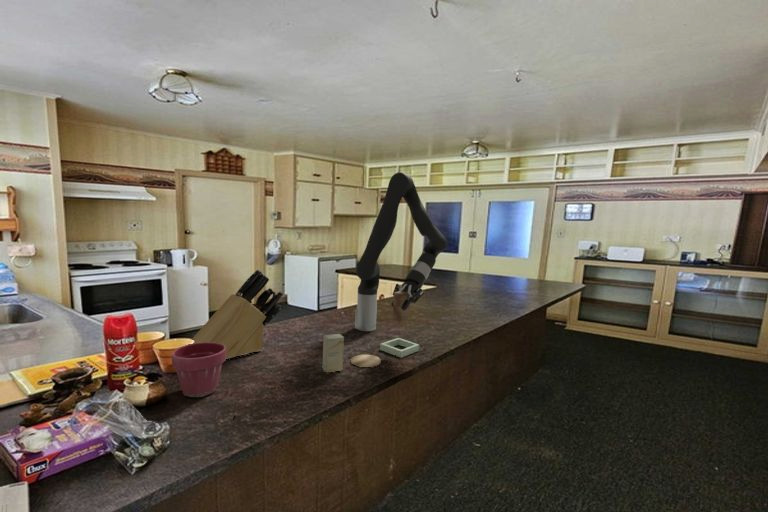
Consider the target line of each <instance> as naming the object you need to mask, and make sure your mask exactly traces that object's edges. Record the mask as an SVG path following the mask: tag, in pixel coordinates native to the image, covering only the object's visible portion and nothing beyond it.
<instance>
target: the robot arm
mask: <svg viewBox="0 0 768 512" xmlns="http://www.w3.org/2000/svg"><path fill="white" fill-rule="evenodd" d="M402 199H403V200H404V201H405V203H406V205H407V206H408V209H409V211H410V215H411V218H412V221H413V223H414V225H415V226H416V228H417V230H418V232H419V234H420V235H421V237H427V239H428V240H429V241H428V242H427V243H426V244H425V246H424V248H423V249H422V252H421V254H420V256H419V257H418V259H417V260H416V262H415V263H414V265H413V266H412V267H411V269H410V270H409V272H408V273H407V275H406V277H405V280H404V282H403V283H402V284H398V283H396V284H395V286H394V289H393V292H392V296H393V295H394V292H398V291H404V292H408V296H407V299H406V300H405V302H404V303H403V305H402V306H401V309H402V310H404V311H405V310H406V309H407V307H408V306H409V307H410V304H412V303H413V304H416V303H417V302H418V301H419V300H420V298H422V297H423V295H425V292H424V290H423V289H422V287H424V284H425V283H426V280H427V279H428V277H429V275H430V274H431V271H432V270H433V267H434V266H435V264H436V261H437V257H438V256H439V255H440V254H441V253H442V252H444V251H445V250H446V249H447V246H448V241H447V239H446V237H445V235H443V234H442V232H441V231H440V230H439V229H438V228H437V227H436V226H435V224H434V223H433V221H432V219H431V217H430V215H429V213H428V212H427V210H426V207H425V206H424V204H423V203H422V201H421V198H420V196H419V193H418V191H417V188H416V184H415V181H414V180H413V178H412V177H411V176H410V175H408V174H406V173H404V172H401V171H400V172H396V173H394V174H393V175H392V176H391V177H390V179H389V181H388V185H387V190H386V193H385V196H384V199H383V202H382V205H381V207H380V208H379V212H378V215H377V217H376V219H375V222H374V225H373V228H372V230H371V232H370V236H369V238H368V240H367V243H366V247H365V248H364V251H363V253H362V256H361V257H360V258H359V261H358V263H357V264H356V270H355V273H356V276H357V277H358V279H359V280H360V282H359V285H358V286H357V303H356V305H357V306H356V308H355V311H354V315H355V316H354V329H355V330H358V331H361V332H373V331H376V330H377V329H376V328H377V308H378V307H377V306H378V288H379V284H380V275H381V273H380V272H381V271H380V270H381V267H380V265H379V262H378V260H379V258H380V256H381V254H382V251H383V250H384V249H385V247H386V246H387V245H388V243H389V241H390V239H391V238H392V236H393V233H394V231H395V228H396V225H397V220H398V211H399V207H400V204H401V202H402ZM391 307H392V308H393V301H391Z"/></svg>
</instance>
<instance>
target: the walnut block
mask: <svg viewBox="0 0 768 512" xmlns="http://www.w3.org/2000/svg"><path fill="white" fill-rule="evenodd" d="M393 292H394V291H393ZM392 296H393V299H392V300H393V301H392V302H393V307H392V321H397V322H401V323H403V322H406V321H409V319H410V317H409V315H410V305H409V306H408V307H407V309H406V310H405V311H404V310H402V309H401V306H402V305H403V303H404V302H405V300H406V299H407V296H408V292H404V291H398V292H394V295H393V294H392Z"/></svg>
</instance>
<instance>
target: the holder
mask: <svg viewBox="0 0 768 512" xmlns="http://www.w3.org/2000/svg"><path fill="white" fill-rule="evenodd" d="M379 345H380V346H379V350H380V351H383V352H385V353H387V354H390V355H393V356H395V355H396V356H395V357H398V358H401V359H402V358H404V357H406V356H409V355H411V354H414V353H416V352H420V344H418V343H415V342H413V341H410V340H407V339H403V338H400V337H397V338H393V339H391V340H388V341H384V342H382V343H380V344H379ZM396 346H401V347H403V349H400V348H397V347H396Z"/></svg>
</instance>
